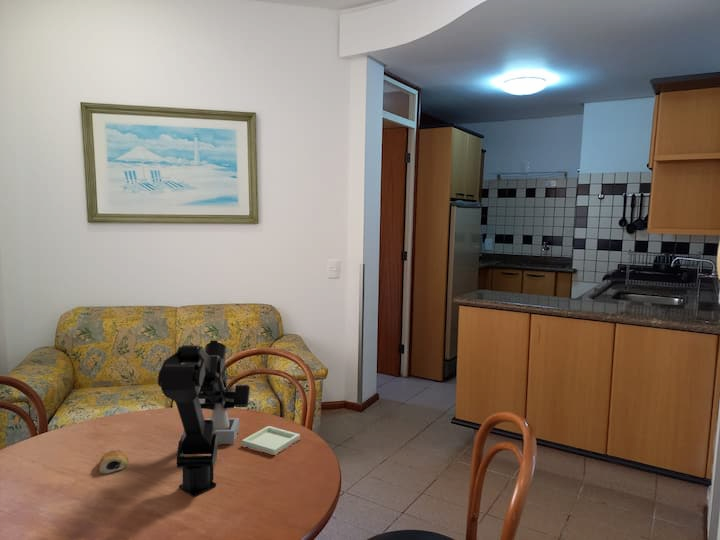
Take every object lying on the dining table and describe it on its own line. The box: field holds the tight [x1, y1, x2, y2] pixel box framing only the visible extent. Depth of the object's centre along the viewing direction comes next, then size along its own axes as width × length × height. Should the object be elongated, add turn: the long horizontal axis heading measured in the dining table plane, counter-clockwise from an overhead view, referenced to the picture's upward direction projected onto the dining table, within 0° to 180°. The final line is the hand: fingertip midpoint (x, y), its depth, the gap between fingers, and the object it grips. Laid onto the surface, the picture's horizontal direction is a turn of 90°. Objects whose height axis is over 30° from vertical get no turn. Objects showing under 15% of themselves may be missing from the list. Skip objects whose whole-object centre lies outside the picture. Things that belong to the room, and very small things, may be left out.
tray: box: [241, 425, 301, 455], centre depth 143 cm, size 12×12×2 cm
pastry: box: [98, 450, 129, 474], centre depth 129 cm, size 9×7×4 cm
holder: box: [205, 417, 240, 445], centre depth 146 cm, size 10×10×4 cm
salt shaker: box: [211, 401, 229, 430], centre depth 146 cm, size 6×6×13 cm
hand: (220, 408), depth 146 cm, fingers closed on salt shaker, 3 cm apart
